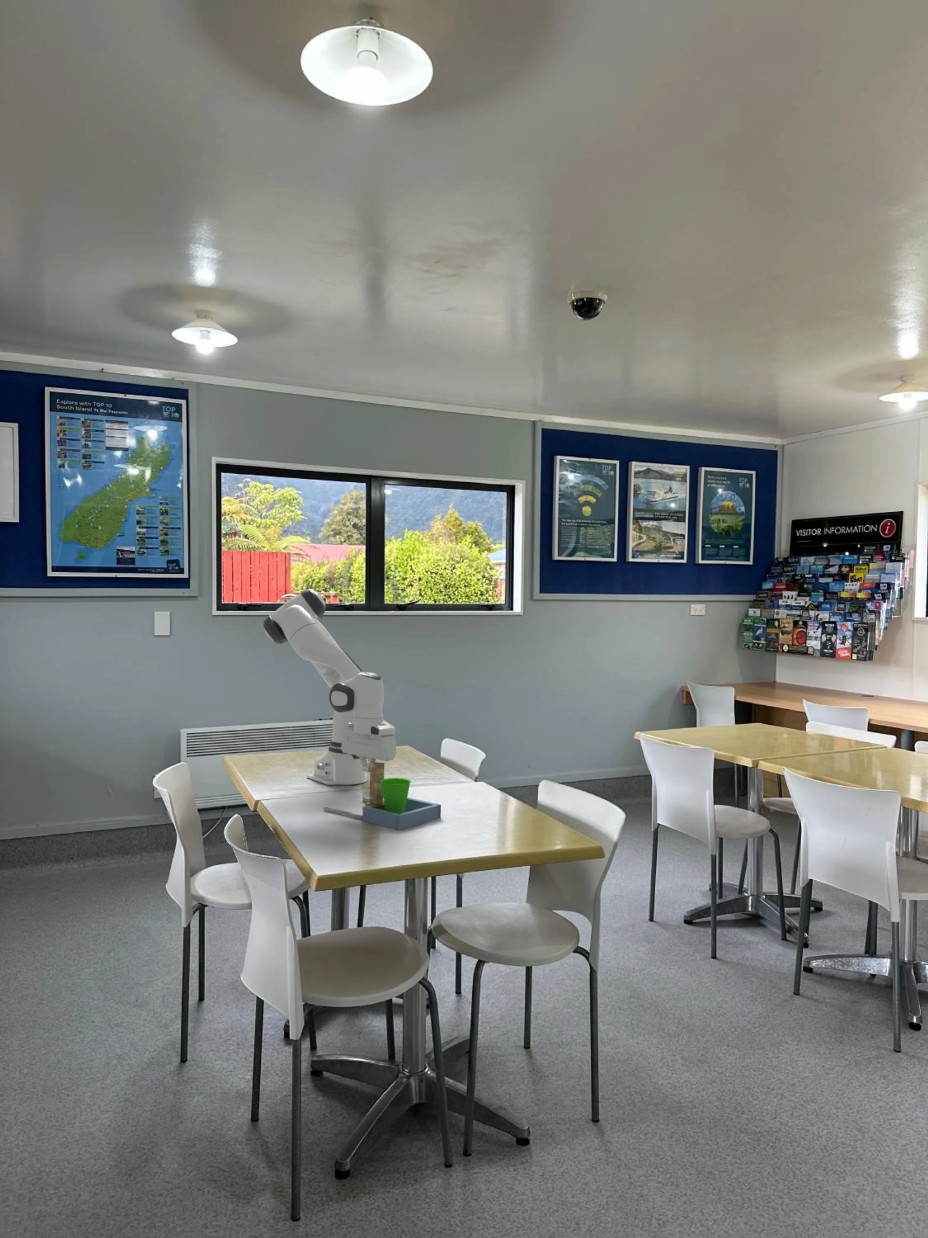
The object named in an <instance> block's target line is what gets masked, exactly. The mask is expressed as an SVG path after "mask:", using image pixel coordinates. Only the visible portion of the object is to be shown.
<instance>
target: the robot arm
mask: <svg viewBox="0 0 928 1238" xmlns="http://www.w3.org/2000/svg"><path fill="white" fill-rule="evenodd" d="M326 609H327V608H326V603H325V601H324V598H323V597H322V595H321V594H320V593H319V592H317V591H315V590H314V589H312V588H308V589H303V590H302V591H300V593H299V594H297V595H295V596H294V597H292V598H289V599H288V600H287V601H285V602H284V604H282V605H281V606H280V607H278V608H277V609H276V610H275V611H273V613H271V615H268V616H267V617H266V618H265V619H264V621H263V625H262V626H263V630H264V633H265V635H266V637H267V638H268V639H270V640H271V642H273V643H275V644H277V645H283V644H285V643H287V642H288V643H289V645H290V646H291V648H292V650H293V651H294V652H295V653H296V654H297V655H298V656H299V657H300V658H301V659H302V660H304V661H307V662H311V664H312V665H313V667H314V668H315V670H317V672H318V673H319V675H320V677H321V678H322V679H323V681H324V682H325V683H326V685H327V686H328V687H329V689H330V690H329V693H328V701H329V704H330V707H331V708H332V709H333V715H332V730H331V731H332V735H331V741H326V746H329V747H328V749H327V751H326V752H325V753H324V754H322V756H319V757H318V758H317V759H316V760H315V761H314V767H313V772H311V773H308V774H307V775H306V778H307V779H310V780H313V781H315V782H319V783H321V784H325V785H328V786H331V785H334V786H335V785H341V786H342V785H345V786H346V785H359V784H365V783H366V782H368V774H367V773H370V762H375V761H382V762H389V761H394V760H395V758H396V756H397V741H396V737H395V734H396V731H397V728H396V726H394V725H392V724H391V723H389V722H388V721H386V720H384V713H383V706H384V703H385V690H384V689H385V686H384V681H383V678H382V676H381V675H379V674H378V673H376V672H372V671H371V672H370V671H363V670H362V669H361V667H360V666H359V665H358V664H357V663H356V662H355V660H354V659H353V658H352V657H351V656H350V655H349V654H348V652H347V651H346V650H345V649H343V648H342V647H341V646H340V645H339V643H337V641H336V640H335V639H334V638H333V636H332V635H331V633H330V632H329V631H328V630H327V628H326V627H325V626H324V625H323V624H322V623H321V622H320V621H319V619H320V620H322V619H323V616H324V614H325V613H326Z"/></svg>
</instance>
